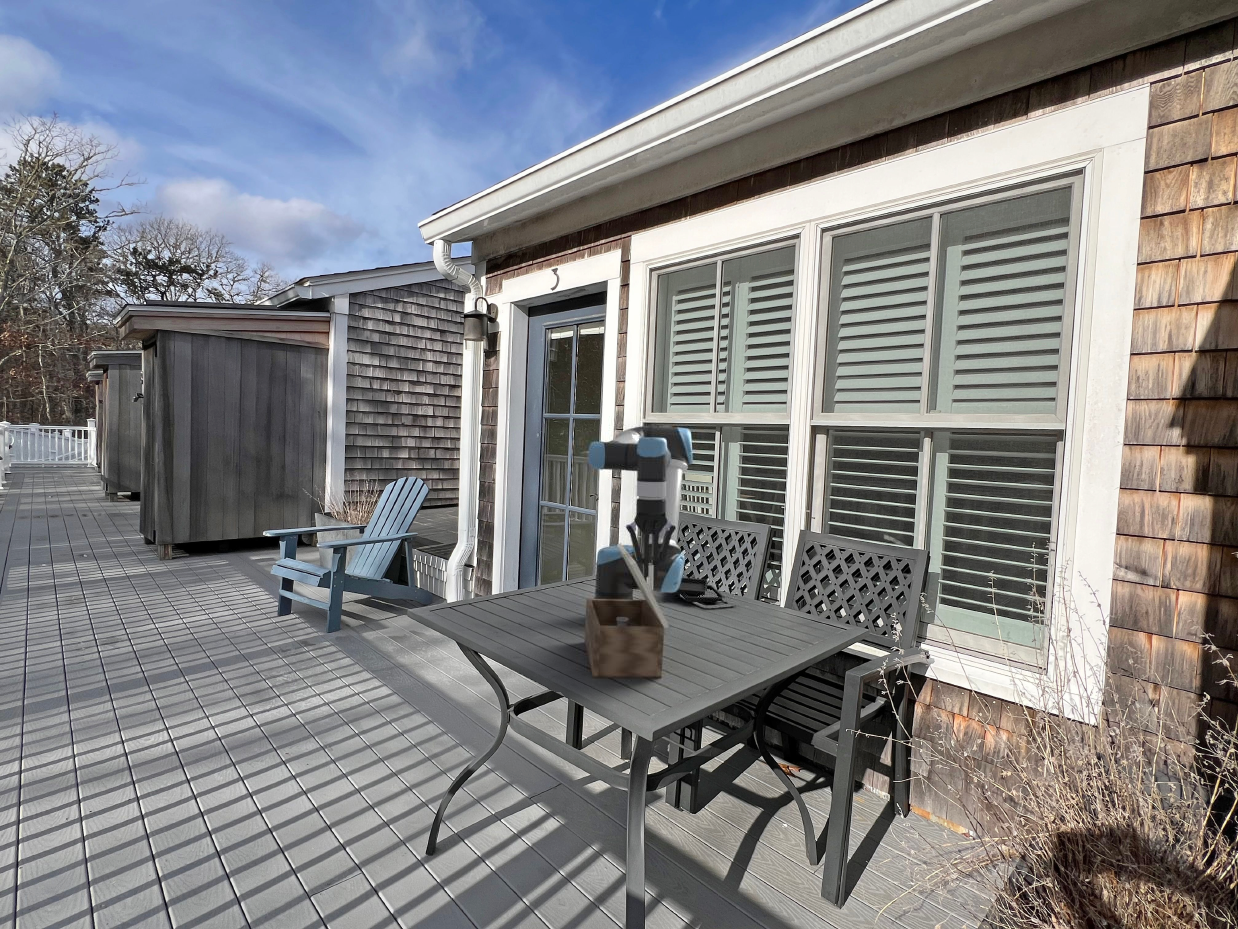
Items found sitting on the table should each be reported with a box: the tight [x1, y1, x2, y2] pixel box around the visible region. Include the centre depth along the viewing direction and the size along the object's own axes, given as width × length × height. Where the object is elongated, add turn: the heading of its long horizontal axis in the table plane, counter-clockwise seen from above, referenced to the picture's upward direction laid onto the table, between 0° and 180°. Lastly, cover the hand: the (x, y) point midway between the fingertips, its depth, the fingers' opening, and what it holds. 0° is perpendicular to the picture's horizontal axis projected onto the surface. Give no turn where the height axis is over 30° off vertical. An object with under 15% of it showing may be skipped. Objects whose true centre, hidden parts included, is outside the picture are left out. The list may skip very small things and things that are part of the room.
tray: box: [669, 577, 726, 605], centre depth 234 cm, size 30×23×5 cm
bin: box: [584, 598, 665, 679], centre depth 167 cm, size 16×26×12 cm, turn 7°
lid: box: [616, 542, 670, 629], centre depth 167 cm, size 17×28×1 cm
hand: (649, 589), depth 167 cm, fingers closed
